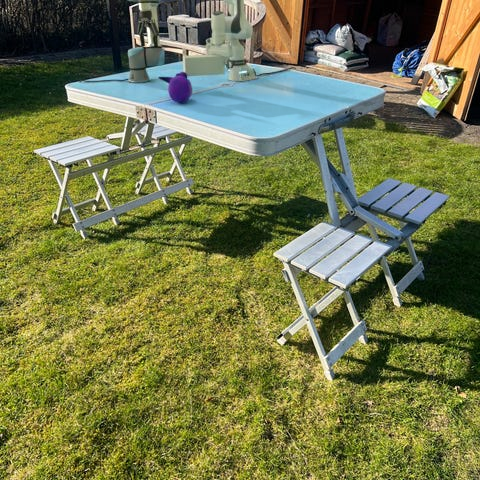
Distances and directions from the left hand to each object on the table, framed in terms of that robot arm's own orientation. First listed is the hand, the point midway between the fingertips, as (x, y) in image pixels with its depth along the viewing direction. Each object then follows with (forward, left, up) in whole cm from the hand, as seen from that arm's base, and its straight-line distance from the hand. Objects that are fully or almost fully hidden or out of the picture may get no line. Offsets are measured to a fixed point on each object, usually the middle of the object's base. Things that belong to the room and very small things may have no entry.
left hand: (149, 47), depth 290 cm
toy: (+11, -29, -28) cm, 42 cm away
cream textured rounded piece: (+74, +60, -28) cm, 99 cm away
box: (+31, -19, -16) cm, 39 cm away
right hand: (+42, -19, -10) cm, 47 cm away
